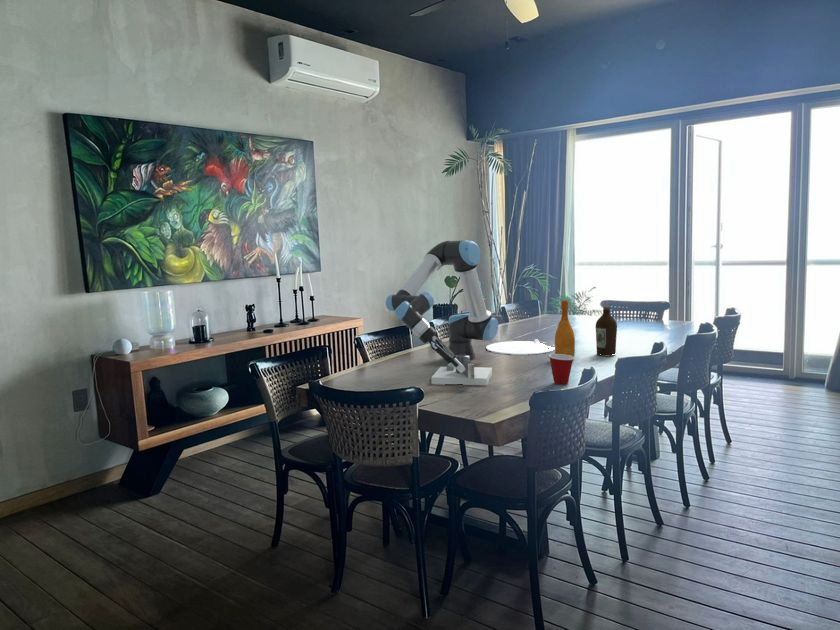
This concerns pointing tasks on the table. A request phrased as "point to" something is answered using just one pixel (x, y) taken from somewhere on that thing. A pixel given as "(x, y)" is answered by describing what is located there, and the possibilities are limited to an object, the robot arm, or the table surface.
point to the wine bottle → (564, 334)
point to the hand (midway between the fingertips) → (463, 371)
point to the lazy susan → (520, 347)
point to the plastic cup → (561, 367)
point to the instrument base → (461, 376)
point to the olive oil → (606, 333)
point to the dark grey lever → (466, 365)
